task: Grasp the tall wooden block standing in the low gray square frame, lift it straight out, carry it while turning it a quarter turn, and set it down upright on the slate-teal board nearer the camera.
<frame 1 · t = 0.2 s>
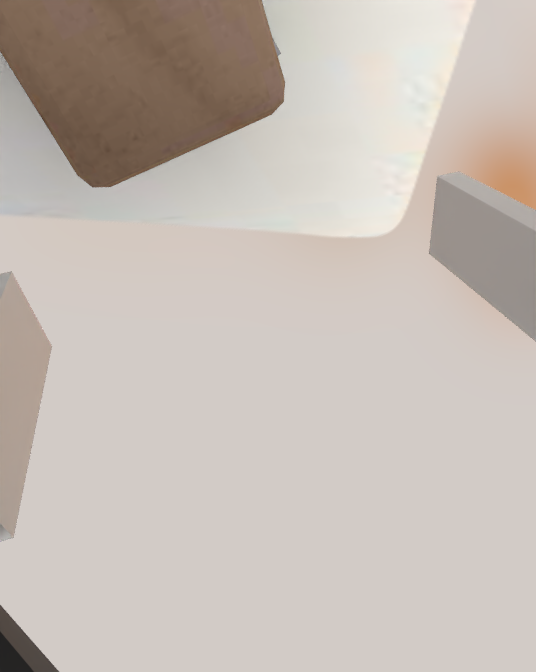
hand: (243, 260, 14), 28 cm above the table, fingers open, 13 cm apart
wooden block: (131, 18, 33), resting in gray square frame
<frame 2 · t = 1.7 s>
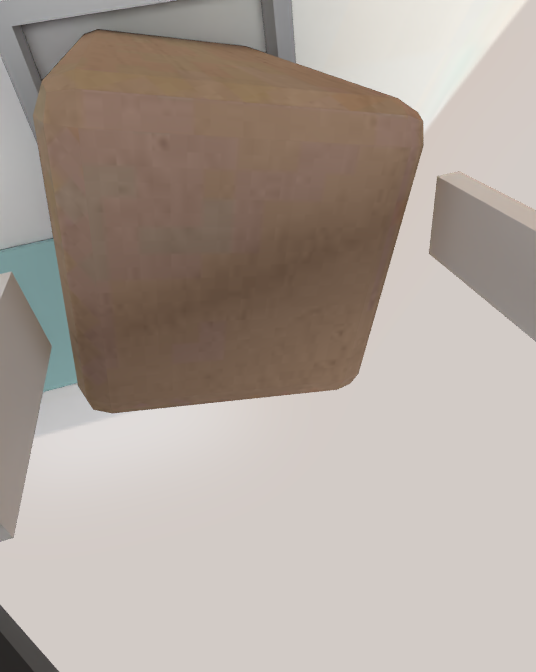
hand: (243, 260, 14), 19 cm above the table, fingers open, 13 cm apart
gray square frame: (173, 131, 29), on the table
board: (23, 326, 33), on the table
wooden block: (173, 130, 29), resting in gray square frame
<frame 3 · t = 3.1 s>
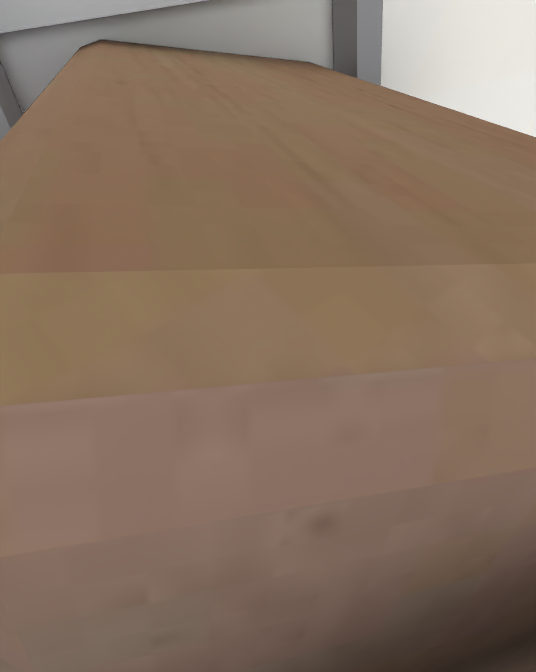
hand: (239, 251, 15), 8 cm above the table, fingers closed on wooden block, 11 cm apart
gray square frame: (204, 177, 21), on the table
wooden block: (203, 174, 21), resting in gray square frame, touching gripper
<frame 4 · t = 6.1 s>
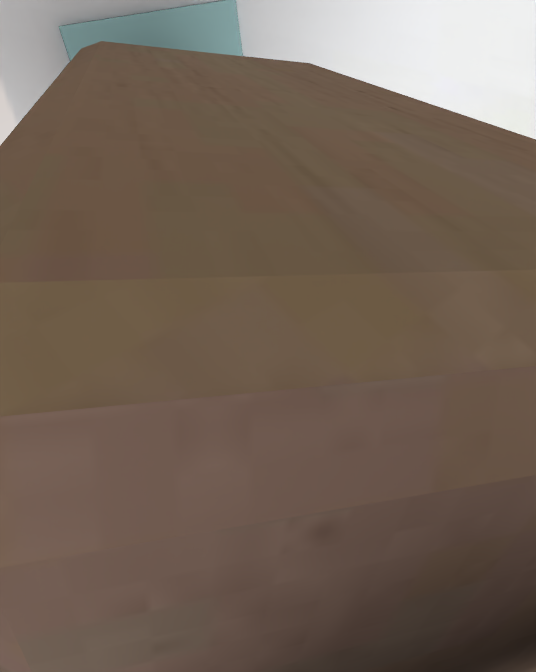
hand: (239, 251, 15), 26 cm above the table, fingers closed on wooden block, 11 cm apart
board: (170, 107, 35), on the table
wooden block: (203, 175, 21), point 17 cm above the table, touching gripper
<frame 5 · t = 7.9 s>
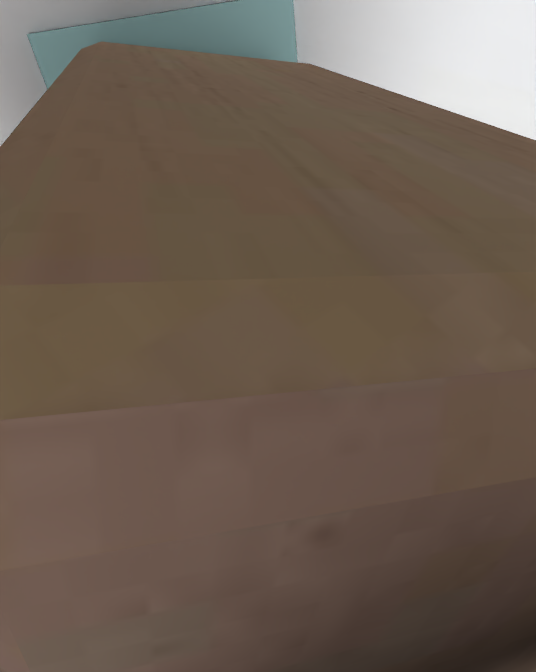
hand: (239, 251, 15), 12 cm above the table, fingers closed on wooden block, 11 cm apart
board: (193, 148, 24), on the table
wooden block: (203, 176, 21), point 4 cm above the table, touching gripper
when the fingers open (9 cm above the table, at t = 9.2 s): wooden block stays where it is, resting on board.
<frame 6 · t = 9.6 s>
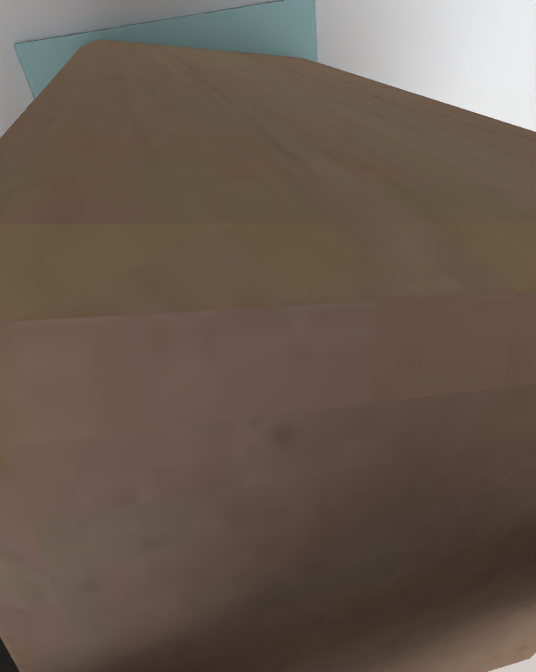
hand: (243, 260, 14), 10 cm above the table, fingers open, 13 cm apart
board: (200, 169, 22), on the table
wooden block: (201, 169, 22), resting on board
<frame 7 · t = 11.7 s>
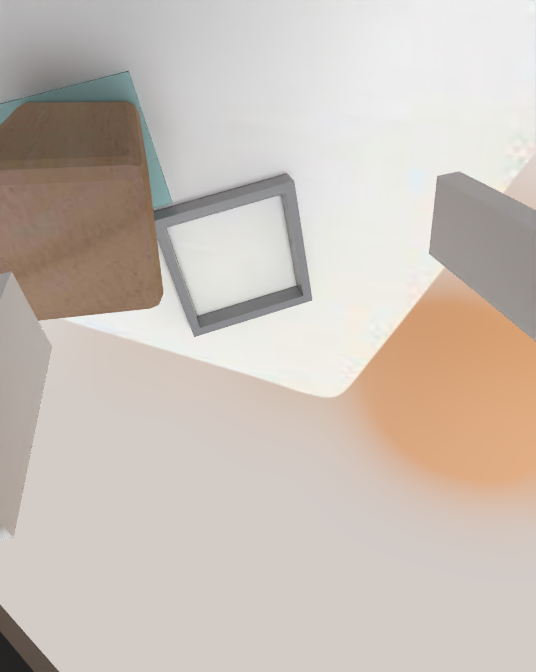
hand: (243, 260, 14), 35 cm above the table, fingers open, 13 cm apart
gray square frame: (235, 255, 53), on the table
board: (90, 158, 43), on the table
wooden block: (89, 159, 43), resting on board
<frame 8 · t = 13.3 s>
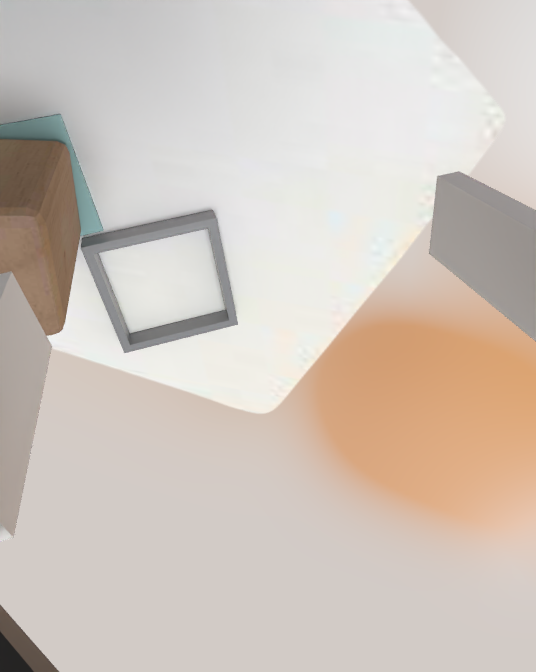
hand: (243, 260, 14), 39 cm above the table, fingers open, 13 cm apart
gray square frame: (165, 280, 57), on the table
board: (24, 188, 47), on the table
wooden block: (23, 188, 47), resting on board
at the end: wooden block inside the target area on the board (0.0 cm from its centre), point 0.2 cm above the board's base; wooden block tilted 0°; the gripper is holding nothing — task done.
